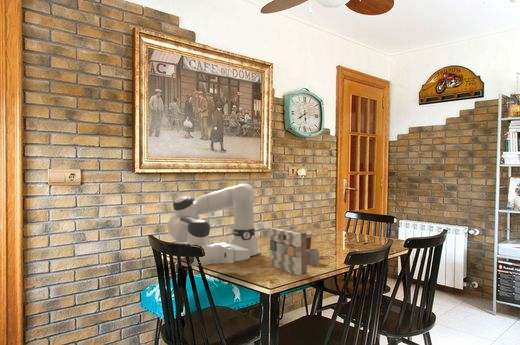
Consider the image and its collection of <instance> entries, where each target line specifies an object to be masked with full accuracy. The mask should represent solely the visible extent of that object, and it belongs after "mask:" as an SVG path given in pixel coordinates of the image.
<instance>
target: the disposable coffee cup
mask: <svg viewBox="0 0 520 345" xmlns="http://www.w3.org/2000/svg"><path fill="white" fill-rule="evenodd" d="M304 232H305V233H306V241H307V249H311V244H312V237H313V234H312V232H310V231H304Z"/></svg>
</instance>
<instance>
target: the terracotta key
mask: <svg viewBox="0 0 520 345" xmlns="http://www.w3.org/2000/svg"><path fill="white" fill-rule="evenodd" d="M288 255H290V256H295V246H292V245H291V246H288Z"/></svg>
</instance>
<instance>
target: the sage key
mask: <svg viewBox="0 0 520 345" xmlns="http://www.w3.org/2000/svg"><path fill="white" fill-rule="evenodd" d="M276 246H277V253H280V254H284V253H286V252H285V244H283V243H278V244H276Z"/></svg>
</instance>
